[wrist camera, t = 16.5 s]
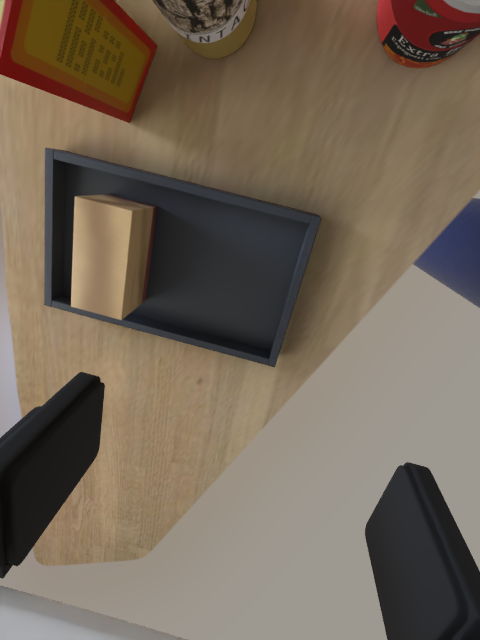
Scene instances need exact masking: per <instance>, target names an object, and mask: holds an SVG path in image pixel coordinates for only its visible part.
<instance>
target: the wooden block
mask: <svg viewBox="0 0 480 640" xmlns="http://www.w3.org/2000/svg"><path fill="white" fill-rule="evenodd" d="M157 211H158V206H155V205H151V204H147V203H143V202H139V201H135V200H131V199H127V198H123V197H119V196H115V195H112V194H103V195H87V196H75V206H74V234H73V261H72V289H71V307H74V308H78V309H82V310H86V311H89V312H93V313H97V314H100V315H104V316H108V317H112V318H115V319H119V320H122V319H123V318H125V317H126V316H127V315H128V314H130V313H131V312H132V311H133V310H135V309H136V308H137V307H138V306H139V305H141V304H142V303H143V302H144V301H145V300H146V297H147V289H148V281H149V273H150V265H151V257H152V250H153V242H154V234H155V226H156V218H157Z"/></svg>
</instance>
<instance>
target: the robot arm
mask: <svg viewBox="0 0 480 640" xmlns="http://www.w3.org/2000/svg"><path fill="white" fill-rule="evenodd" d="M104 388H105V385H104V383H102V382H100V377H98V376H94V375H91V374H87V373H84V372H80V373H78V374H77V375H76V376H75V377H74V378H73V379H72V380H71V381H69V382H68V383H67V384H66V385H65V386H64V387H63V388H62V389H61V390H59V391H58V392H57V393H56V394H55V395H54V396H53V397H52V398H51V399H49V400H48V401H47V402H46V403H45V404H44V405H43V406H42V407H40V406H39V407H36V408H34V409H33V410H31V411H30V412H29V413H28V414H27V415H26V416H25V417H23V418H22V419H21V420H20V421H19V422H18V423H17V424H15V425H14V426H13V427H12V428H11V429H10V430H9V431H8V432H6V433H5V434H4V435H3V436H2V437H1V438H0V578H4V577H5V575H6V574H7V572H8V571H9V570H10V568H11V567H12V565H15V566H18V565H19V564H20V563H22V561H23V560H24V559H25V557H26V556H27V555H28V553H29V552H30V550H31V549H32V547H33V546H34V545H35V543H36V542H37V540H38V539H39V538H40V536H41V535H42V533H43V532H44V530H45V529H46V528H47V526H48V525H49V523H50V522H51V521H52V519H53V518H54V516H55V515H56V513H57V512H58V511H59V509H60V508H61V506H62V505H63V503H64V502H65V501H66V499H67V498H68V496H69V495H70V494H71V492H72V491H73V489H74V488H75V486H76V485H77V484H78V482H79V481H80V479H81V478H82V477H83V475H84V474H85V472H86V471H87V469H88V468H89V467H90V465H91V464H92V462H93V461H94V459H95V458H96V456H97V454H98V451H99V445H100V434H101V422H102V411H103V399H104ZM365 536H366V542H367V546H368V551H369V556H370V560H371V565H372V569H373V574H374V579H375V583H376V588H377V593H378V597H379V602H380V607H381V611H382V616H383V621H384V625H385V630H386V635H387V639H388V640H480V572H479V569H478V567H477V565H476V563H475V561H474V559H473V557H472V555H471V553H470V551H469V549H468V547H467V545H466V543H465V541H464V539H463V537H462V534H461V533H460V530H459V529H458V526H457V524H456V522H455V520H454V518H453V516H452V514H451V512H450V510H449V508H448V506H447V504H446V502H445V500H444V498H443V496H442V494H441V492H440V490H439V488H438V485H437V483H436V481H435V479H434V477H433V475H432V473H431V471H430V470H429V469H428V468H426V467H424V466H420V465H416V464H412V463H405V464H404V465H403V466H399V467H398V468H397V469H396V471H395V473H394V475H393V477H392V478H391V480H390V482H389V484H388V486H387V488H386V490H385V491H384V493H383V495H382V497H381V498H380V501H379V502H378V504H377V506H376V508H375V510H374V511H373V513H372V515H371V517H370V519H369V521H368V522H367V524H366V529H365ZM0 640H187V639H183V638H180V637H177V636H173V635H170V634H167V633H164V632H160V631H157V630H153V629H150V628H146V627H143V626H140V625H137V624H133V623H129V622H126V621H123V620H120V619H116V618H113V617H109V616H106V615H103V614H99V613H96V612H93V611H89V610H86V609H82V608H79V607H76V606H72V605H69V604H66V603H62V602H59V601H55V600H51V599H48V598H44V597H40V596H37V595H33V594H29V593H26V592H22V591H18V590H14V589H11V588H7V587H4V586H0Z"/></svg>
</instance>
